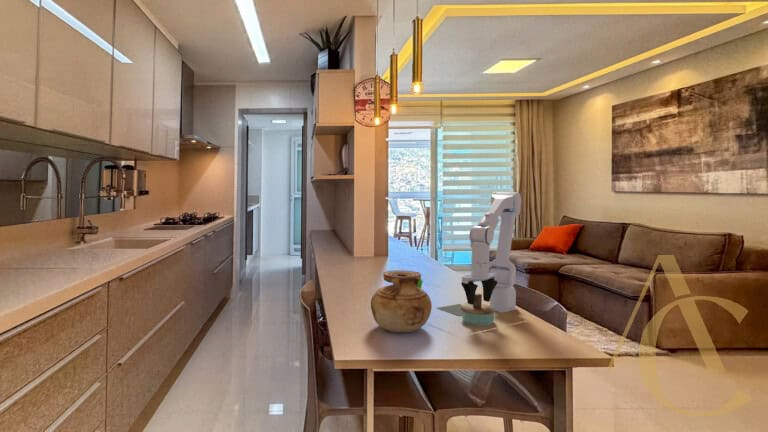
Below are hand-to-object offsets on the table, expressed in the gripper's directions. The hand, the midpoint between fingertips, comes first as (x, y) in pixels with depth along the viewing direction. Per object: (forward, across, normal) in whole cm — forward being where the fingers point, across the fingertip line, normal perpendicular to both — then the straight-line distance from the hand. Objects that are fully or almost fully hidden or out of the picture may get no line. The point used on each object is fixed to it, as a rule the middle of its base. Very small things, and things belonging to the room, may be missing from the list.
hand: (478, 302), depth 138 cm
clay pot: (+7, +27, -7) cm, 29 cm away
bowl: (+7, 0, 0) cm, 7 cm away
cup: (+7, +11, -23) cm, 26 cm away
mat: (+7, -4, -13) cm, 15 cm away
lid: (+3, 0, -1) cm, 3 cm away
